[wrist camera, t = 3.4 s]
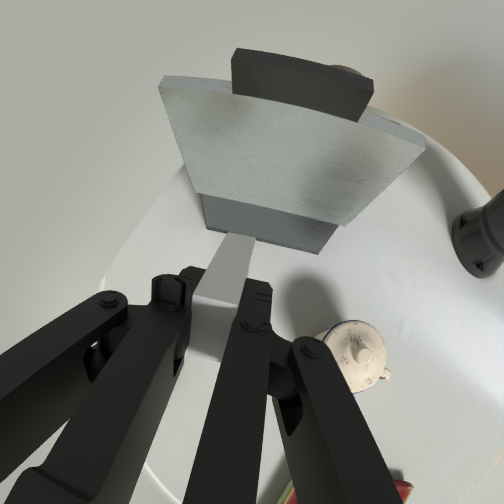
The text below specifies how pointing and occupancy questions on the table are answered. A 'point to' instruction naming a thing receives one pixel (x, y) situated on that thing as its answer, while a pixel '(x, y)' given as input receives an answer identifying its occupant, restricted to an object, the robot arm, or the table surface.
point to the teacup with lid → (357, 353)
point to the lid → (287, 136)
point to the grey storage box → (266, 224)
